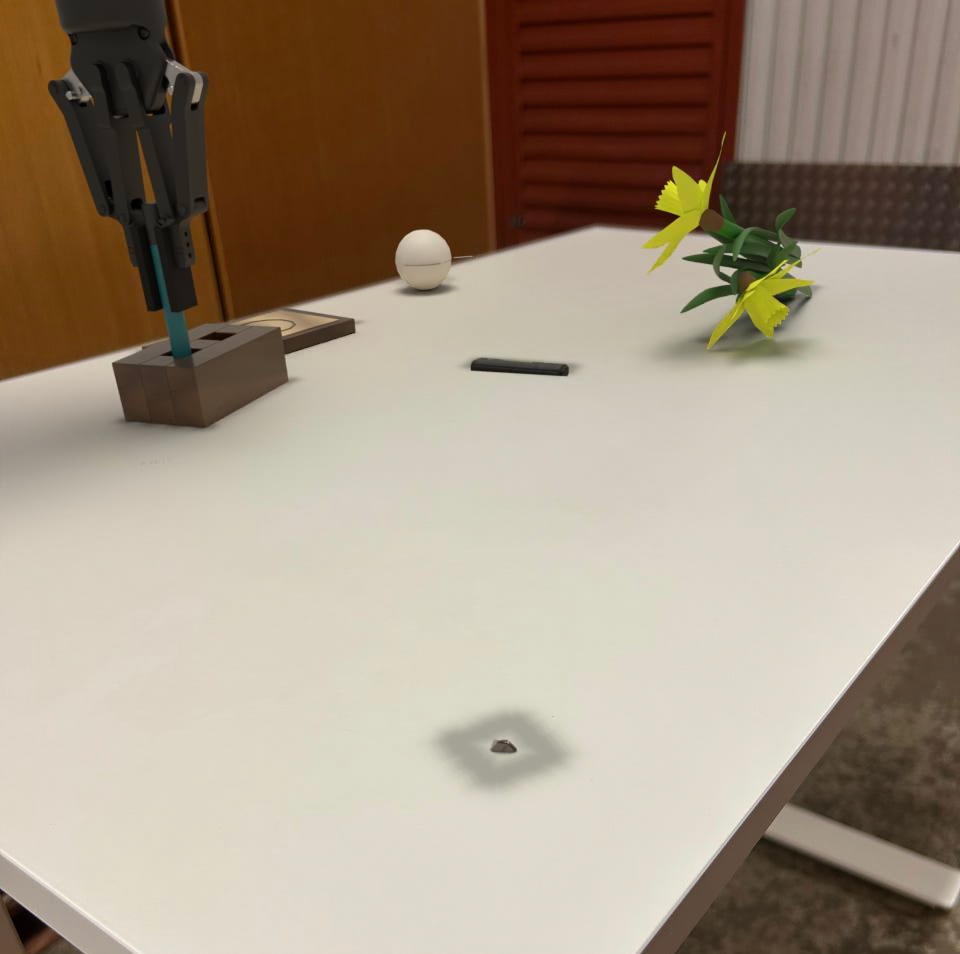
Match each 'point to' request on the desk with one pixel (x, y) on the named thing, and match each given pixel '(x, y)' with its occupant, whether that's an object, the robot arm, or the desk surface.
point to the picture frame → (299, 327)
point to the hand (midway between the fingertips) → (172, 307)
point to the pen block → (201, 375)
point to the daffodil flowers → (754, 273)
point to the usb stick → (519, 367)
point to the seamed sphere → (423, 259)
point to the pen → (173, 320)
